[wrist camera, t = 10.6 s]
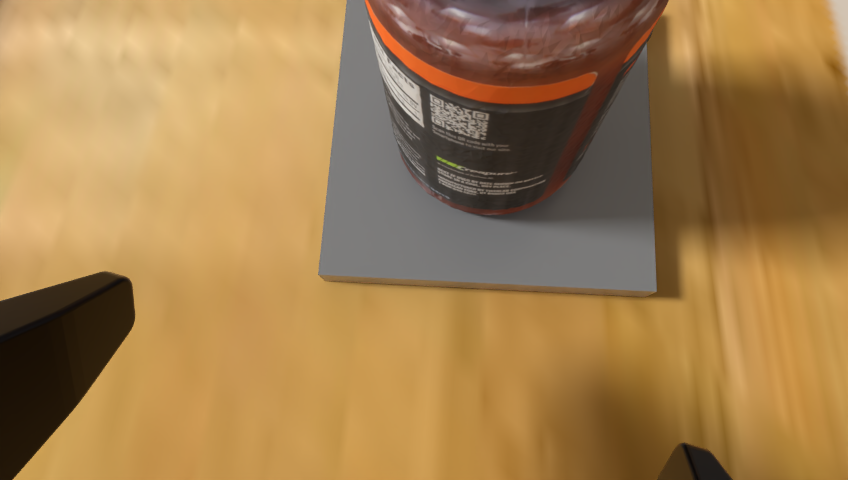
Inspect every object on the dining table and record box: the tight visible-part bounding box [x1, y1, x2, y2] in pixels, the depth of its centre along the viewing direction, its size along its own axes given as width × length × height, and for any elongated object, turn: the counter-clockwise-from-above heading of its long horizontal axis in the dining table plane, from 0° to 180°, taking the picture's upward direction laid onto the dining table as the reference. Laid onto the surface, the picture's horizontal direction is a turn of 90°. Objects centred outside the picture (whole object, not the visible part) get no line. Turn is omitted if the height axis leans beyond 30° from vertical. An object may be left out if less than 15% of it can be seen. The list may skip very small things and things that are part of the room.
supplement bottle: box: [364, 0, 669, 215], centre depth 13 cm, size 6×6×11 cm
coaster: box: [318, 0, 657, 297], centre depth 19 cm, size 10×10×1 cm
